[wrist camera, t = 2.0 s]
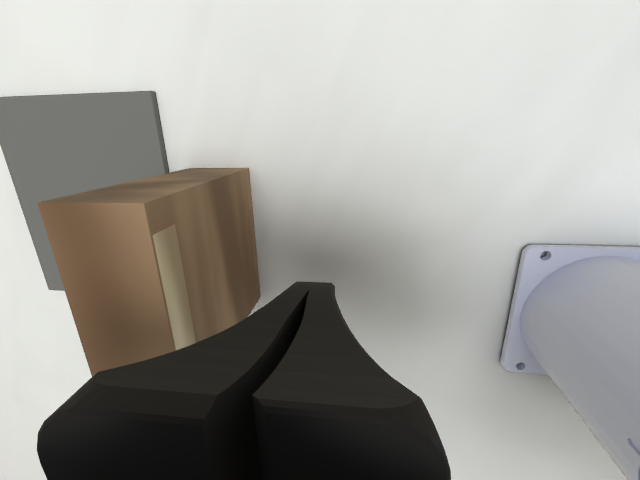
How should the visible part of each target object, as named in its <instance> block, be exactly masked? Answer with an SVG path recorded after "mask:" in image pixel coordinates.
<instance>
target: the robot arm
mask: <svg viewBox="0 0 640 480" xmlns="http://www.w3.org/2000/svg"><path fill="white" fill-rule="evenodd" d="M545 251H547V255H546V256H545V257H542V258H540V255H541V253H543V252H545ZM518 363H521V364H520V365H517V364H518ZM500 364H501V366H502V367H503V369H504V370H505V371H508V372H518V373H533V374H547V375H549V376H550V378H551V379H552V380H553V382H554V383H555V384H556V386H557V387H558V388H559V390H560V391H561V392H562V394H563V395H564V396H565V398H566V399H567V400H568V402H569V403H570V404H571V406H572V407H573V408H574V410H575V411H576V412H577V414H578V415H579V416H580V417H581V419H582V420H583V421H584V423H585V424H586V425H587V427H588V428H589V429H590V431H591V432H592V433H593V435H594V436H595V437H596V439H597V440H598V441H599V443H600V444H601V445H602V447H603V448H604V449H605V451H606V452H607V453H608V455H609V456H610V457H611V459H612V460H613V461H614V463H615V464H616V465H617V466H618V468H619V469H620V470H621V472H622V473H623V474H624V476H625V477H626V478H627V480H640V247H632V246H586V245H541V244H533V245H529V246H527V247H525V248H524V249H523V251H522V255H521V260H520V265H519V270H518V275H517V280H516V285H515V290H514V295H513V300H512V305H511V310H510V315H509V320H508V325H507V330H506V335H505V340H504V345H503V350H502V355H501V360H500ZM37 452H38V456H39V459H40V463H41V466H42V468H43V470H44V473H45V475H46V477H47V480H451V472H450V467H449V463H448V460H447V456H446V453H445V450H444V447H443V445H442V442H441V440H440V437H439V435H438V432H437V430H436V428H435V425H434V423H433V421H432V419H431V417H430V415H429V413H428V410H427V408H426V406H425V404H424V403H423V401H422V399H421V398H420V397H419V396H417V395H416V394H415V393H413V392H412V391H410V390H409V389H408V388H406V387H405V386H403V385H402V384H400V383H399V382H398V381H396V380H395V379H393V378H392V377H391V376H390V375H389V374H387V373H386V372H385V371H384V370H383V369H382V368H381V367H380V366H379V365H378V364H377V363H376V362H375V361H374V360H373V359H372V358H371V357H370V356H369V355H368V354H367V353H366V351H365V350H364V349H363V348H362V346H361V345H360V344H359V343H358V341H357V340H356V338H355V337H354V335H353V334H352V332H351V331H350V329H349V327H348V326H347V324H346V322H345V320H344V318H343V316H342V314H341V312H340V309H339V307H338V304H337V301H336V298H335V286H334V285H333V284H332V283H319V282H296V283H294V284H293V285H292V286H290V287H289V288H288V289H286V290H285V291H284V292H283V293H281V294H280V295H279V296H277V297H276V298H275V299H273V300H272V301H271V302H269V303H268V304H267V305H265V306H264V307H262V308H261V309H259V310H258V311H256V312H255V313H253V314H252V315H250V316H249V317H247V318H246V319H244V320H242V321H241V322H239V323H237V324H235V325H233V326H231V327H230V328H228V329H226V330H224V331H222V332H220V333H218V334H215V335H213V336H211V337H208V338H206V339H204V340H201V341H199V342H197V343H194V344H192V345H190V346H187V347H184V348H181V349H179V350H176V351H173V352H170V353H167V354H164V355H161V356H158V357H154V358H151V359H147V360H144V361H140V362H136V363H132V364H128V365H124V366H120V367H116V368H112V369H108V370H104V371H99V372H97V373H96V374H95V375H94V376H93V377H92V378H91V379H90V380H89V381H88V382H86V383H85V384H84V385H83V386H82V387H81V388H80V389H79V390H78V391H77V392H76V393H75V394H73V395H72V396H71V397H70V398H69V399H68V400H67V401H66V402H65V403H64V404H63V405H61V406H60V407H59V408H58V409H57V410H56V411H55V412H54V413H53V414H52V415H51V416H50V417H48V418H47V419H46V420H45V421H44V423H43V425H42V426H41V428H40V430H39V432H38V441H37Z"/></svg>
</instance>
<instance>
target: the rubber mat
mask: <svg viewBox="0 0 640 480" xmlns="http://www.w3.org/2000/svg"><path fill="white" fill-rule="evenodd" d="M0 145H1V148H2V151H3V154H4V157H5V160H6V163H7V166H8V169H9V172H10V175H11V178H12V181H13V184H14V187H15V190H16V193H17V196H18V199H19V202H20V205H21V208H22V211H23V214H24V217H25V220H26V223H27V226H28V229H29V232H30V235H31V238H32V241H33V244H34V246H35V249H36V252H37V255H38V258H39V261H40V264H41V267H42V270H43V273H44V276H45V279H46V282H47V285H48V288H49V290H63V291H65V289H64V286H63V283H62V280H61V277H60V273H59V270H58V267H57V264H56V261H55V258H54V254H53V251H52V248H51V245H50V242H49V239H48V235H47V232H46V229H45V226H44V223H43V220H42V216H41V213H40V210H39V207H38V204H37V202H41V201H46V200H50V199H55V198H59V197H64V196H68V195H73V194H77V193H81V192H86V191H90V190H95V189H99V188H104V187H108V186H113V185H117V184H122V183H126V182H131V181H135V180H140V179H144V178H149V177H153V176H158V175H162V174H166V173H169V170H168V164H167V158H166V152H165V147H164V141H163V135H162V129H161V123H160V118H159V112H158V106H157V100H156V95H155V92H154V91H136V92H111V93H87V94H62V95H37V96H13V97H0Z"/></svg>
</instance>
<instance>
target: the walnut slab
mask: <svg viewBox="0 0 640 480" xmlns="http://www.w3.org/2000/svg"><path fill="white" fill-rule="evenodd" d="M37 204H38V207H39V210H40V213H41V216H42V220H43V223H44V226H45V229H46V232H47V235H48V239H49V242H50V245H51V248H52V251H53V254H54V258H55V261H56V264H57V267H58V270H59V273H60V277H61V280H62V283H63V286H64V289H65V292H66V296H67V299H68V302H69V305H70V308H71V311H72V315H73V318H74V321H75V324H76V327H77V330H78V334H79V337H80V340H81V343H82V346H83V349H84V353H85V356H86V359H87V362H88V365H89V368H90V372H91V375H92V377H93V376H94V375H95V374H96V373H97V372H99V371H104V370H108V369H112V368H116V367H120V366H124V365H128V364H132V363H136V362H140V361H144V360H147V359H151V358H154V357H158V356H161V355H164V354H167V353H170V352H173V351H176V350H179V349H181V348H184V347H187V346H190V345H192V344H194V343H197V342H199V341H201V340H204V339H206V338H208V337H211V336H213V335H215V334H218V333H220V332H222V331H224V330H226V329H228V328H230V327H231V326H233V325H235V324H237V323H239V322H241V321H242V320H244V319H246V318H247V317H248V316H249V314H250V313H251V311H252V309H253V308H254V306H255V304H256V303H257V301H258V300H259V298H260V285H259V274H258V263H257V252H256V242H255V231H254V220H253V209H252V198H251V187H250V176H249V168H189V169H184V170H180V171H175V172H171V173H166V174H162V175H158V176H153V177H149V178H144V179H140V180H135V181H131V182H126V183H122V184H117V185H113V186H108V187H104V188H99V189H95V190H90V191H86V192H81V193H77V194H73V195H68V196H64V197H59V198H55V199H50V200H46V201H41V202H37Z"/></svg>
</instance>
